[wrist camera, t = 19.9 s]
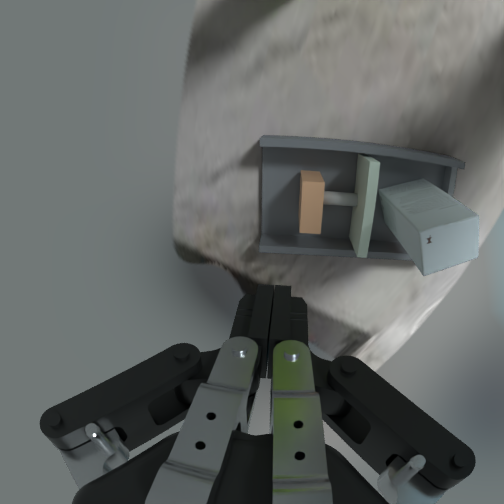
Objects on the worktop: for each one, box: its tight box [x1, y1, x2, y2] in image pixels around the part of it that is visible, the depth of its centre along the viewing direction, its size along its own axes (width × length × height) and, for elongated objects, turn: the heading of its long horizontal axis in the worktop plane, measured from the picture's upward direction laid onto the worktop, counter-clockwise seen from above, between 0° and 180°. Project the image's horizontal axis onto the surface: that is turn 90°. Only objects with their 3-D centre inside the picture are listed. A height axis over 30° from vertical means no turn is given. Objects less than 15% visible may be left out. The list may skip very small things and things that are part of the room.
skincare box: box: [379, 178, 479, 276], centre depth 25 cm, size 6×4×12 cm
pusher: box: [298, 153, 380, 258], centre depth 29 cm, size 7×10×5 cm
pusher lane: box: [259, 135, 465, 260], centre depth 30 cm, size 22×12×4 cm, turn 90°
